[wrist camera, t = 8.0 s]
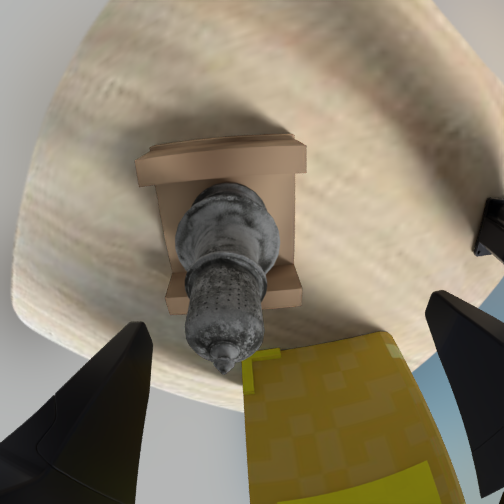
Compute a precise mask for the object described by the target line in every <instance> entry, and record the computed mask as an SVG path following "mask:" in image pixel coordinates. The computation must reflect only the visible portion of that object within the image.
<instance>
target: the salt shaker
mask: <svg viewBox="0 0 504 504" xmlns="http://www.w3.org/2000/svg"><path fill="white" fill-rule="evenodd" d="M279 249H280V236H279V230H278V227H277V225H276V223H275V221H274V219H273V217H272V216H271V215H270V214H269V213H268V212H267V209H266V207H265V204H264V202H263V200H262V199H261V198H260V197H259V196H258V194H257V193H256V192H254V191H253V190H251V189H250V188H248V187H247V186H244V185H241V184H238V183H227V182H225V183H220V184H215V185H213V186H211V187H209V188H207V189H205V190H204V191H203V192H202V193H200V194H199V195H198V196H197V198H196V199H195V201H194V202H193V204H192V206H191V208H190V209H189V210H188V211H187V212H186V213H185V214H184V216H183V217H182V219H181V221H180V222H179V224H178V227H177V231H176V235H175V250H176V253H177V255H178V258H179V261H180V263H181V264H182V265H183V267H184V268H185V270H186V271H187V274H186V277H185V291H186V293H187V296H188V298H189V299H190V301H189V307H188V312H187V318H186V323H185V332H186V339H187V341H188V343H189V345H190V347H191V348H192V349H193V350H194V351H195V352H196V353H197V354H198V355H199V356H201V357H202V358H204V359H206V360H209V361H211V362H214V366H215V367H216V368H217V369H218V371H220V372H221V373H222V374H226V373H227V372H229V371H230V370H231V369H232V368H233V367H234V365H235V363H236V362H240V361H243V360H245V359H247V358H249V357H250V356H252V355H253V354H254V353H255V352H256V351H257V350H258V349H259V347H260V346H261V344H262V342H263V336H264V323H263V315H262V307H261V302H262V301H263V299H264V297H265V295H266V292H267V280H266V274H267V273H268V271H269V270H270V269H271V268H272V267H273V265H274V263H275V261H276V259H277V257H278V255H279Z"/></svg>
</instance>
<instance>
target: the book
mask: <svg viewBox="0 0 504 504" xmlns="http://www.w3.org/2000/svg"><path fill="white" fill-rule="evenodd" d="M242 380H243V396H244V414H245V432H246V448H247V464H248V479H249V494H250V504H466V503H465V499H464V496H463V493H462V490H461V487H460V484H459V481H458V479H457V476H456V473H455V470H454V468H453V465H452V462H451V459H450V457H449V455H448V452H447V449H446V447H445V444H444V442H443V440H442V437H441V435H440V432H439V430H438V428H437V426H436V423H435V421H434V419H433V417H432V414H431V412H430V410H429V408H428V406H427V404H426V401H425V399H424V397H423V395H422V393H421V391H420V389H419V387H418V385H417V383H416V381H415V379H414V377H413V375H412V373H411V371H410V369H409V367H408V365H407V363H406V361H405V359H404V357H403V356H402V354H401V352H400V350H399V348H398V346H397V344H396V343H395V341H394V339H393V337H392V335H390V334H389V333H387V332H380V331H379V332H375V333H370V334H366V335H362V336H357V337H353V338H348V339H343V340H339V341H334V342H328V343H323V344H318V345H312V346H306V347H300V348H294V349H288V350H281V351H280V348H274V349H266V350H259V351H256V352H255V353H254V354H253V355H252V356H250V357H249V358H247V359H245V360H243V361H242Z"/></svg>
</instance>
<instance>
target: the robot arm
mask: <svg viewBox="0 0 504 504" xmlns="http://www.w3.org/2000/svg"><path fill="white" fill-rule="evenodd" d="M491 254H493V255H494V256H495V257H496V258H497V259H498V260H499V261H501V262H502V263H503V264H504V199H503V198H491V197H490V198H488V199H487V202H486V207H485V211H484V216H483V220H482V224H481V228H480V231H479V235H478V239H477V242H476V246H475V249H474V255H476V256H484V255H491ZM425 317H426V320H427V323H428V326H429V329H430V332H431V334H432V337H433V340H434V343H435V346H436V350H437V352H438V355H439V358H440V360H441V363H442V365H443V368H444V370H445V373H446V375H447V378H448V380H449V383H450V385H451V388H452V391H453V393H454V396H455V399H456V402H457V405H458V408H459V411H460V414H461V416H462V420H463V423H464V427H465V430H466V433H467V437H468V440H469V444H470V448H471V452H472V456H473V461H474V465H475V469H476V474H477V479H478V485H479V490H480V496H481V498H484V497H486V496H488V495H490V494H492V493H494V492H496V491H498V490H500V489H501V488H503V487H504V323H503V322H501V321H500V320H498V319H496V318H495V317H493V316H491V315H489V314H487V313H485V312H484V311H482V310H480V309H478V308H477V307H475V306H473V305H471V304H469V303H467V302H465V301H464V300H462V299H460V298H458V297H456V296H454V295H452V294H450V293H448V292H446V291H444V290H439V291H434V292H433V293H432V294H431V297H430V299H429V302H428V305H427V308H426V311H425ZM152 353H153V343H152V339H151V337H150V335H149V332H148V330H147V327H146V325H145V323H144V322H141V321H136V322H130V323H128V324H127V325H126V326H125V327H124V328H123V329H122V330H121V331H120V332H119V333H118V334H117V335H116V336H114V337H113V338H112V339H111V340H110V341H109V342H108V343H107V344H106V345H105V346H104V347H103V348H102V349H101V350H100V351H99V352H97V353H96V354H95V355H94V356H93V357H92V358H91V359H90V360H89V361H88V362H87V363H86V364H85V365H84V366H83V367H82V368H81V369H80V370H79V371H78V372H77V373H76V374H75V375H74V376H73V377H71V378H70V380H68V381H67V383H65V384H64V386H62V387H61V388H60V389H59V390H58V391H57V392H56V393H55V395H53V396H52V397H51V398H50V399H49V400H48V401H47V402H46V403H45V404H44V405H43V406H42V407H41V408H40V409H39V410H38V411H37V412H36V413H35V414H33V415H32V416H31V417H30V418H29V419H28V420H27V421H26V422H24V423H23V424H22V425H21V426H20V427H18V428H17V429H16V430H15V431H14V432H13V433H11V434H10V435H9V436H8V437H7V438H5V439H4V440H3V441H2V442H0V504H135V496H136V485H137V476H138V467H139V459H140V451H141V443H142V436H143V429H144V423H145V416H146V409H147V404H148V399H149V391H150V379H151V365H152ZM499 504H504V492H503V494H502V497H501V500H500V502H499Z"/></svg>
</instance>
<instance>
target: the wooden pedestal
mask: <svg viewBox="0 0 504 504" xmlns="http://www.w3.org/2000/svg"><path fill="white" fill-rule="evenodd" d="M135 166H136V172H137V178H138V184H139V187H144V186H151V185H155V187H156V193H157V199H158V205H159V210H160V216H161V221H162V226H163V231H164V236H165V241H166V246H167V250H168V255H169V260H170V264H171V268H172V276H171V279H170V283H169V286H168V289H167V293H166V296H165V300H166V303H167V307H168V310H169V314H170V315H181V314H187V312H188V307H189V301H190V299H189V298H188V296H187V293H186V291H185V277H186V274H187V271H186V270H185V268H184V267H183V265H182V264H181V263H180V261H179V258H178V255H177V253H176V250H175V235H176V231H177V227H178V224H179V222H180V221H181V219H182V217H183V216H184V214H185V213H186V212H187V211H188V210H189V209H190V208H191V206H192V204H193V202H194V201H195V199H196V198H197V196H198V195H199V194H200V193H202V192H203V191H204V190H205V189H207V188H209V187H211V186H213V185H215V184H220V183H225V182H227V183H238V184H241V185H244V186H247V187H248V188H250V189H251V190H253V191H254V192H256V193H257V194H258V196H259V197H260V198H261V199H262V200H263V202H264V204H265V207H266V209H267V212H268V213H269V214H270V215H271V216H272V217H273V219H274V221H275V223H276V225H277V227H278V230H279V236H280V249H279V255H278V257H277V259H276V261H275V263H274V265H273V267H272V268H271V269H270V270H269V271H268V273H267V274H266V280H267V292H266V295H265V297H264V299H263V301H262V302H261V307H262V310H263V309H275V308H286V307H296V306H301V300H302V286H301V283H300V280H299V277H298V275H297V272H296V269H295V266H294V239H295V173H306V145H304V144H303V143H301V142H299V141H297V140H295V135H293V134H262V135H243V136H229V137H217V138H207V139H198V140H189V141H181V142H174V143H167V144H160V145H154V146H152V147H150V152H148V153H147V154H145V155H143V156H142V157H140V158H138V159H137V160H135Z"/></svg>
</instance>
